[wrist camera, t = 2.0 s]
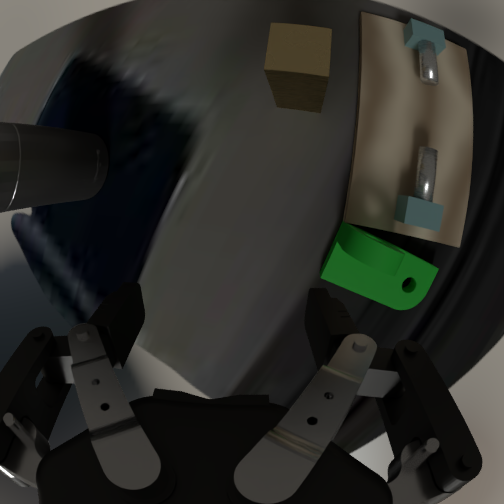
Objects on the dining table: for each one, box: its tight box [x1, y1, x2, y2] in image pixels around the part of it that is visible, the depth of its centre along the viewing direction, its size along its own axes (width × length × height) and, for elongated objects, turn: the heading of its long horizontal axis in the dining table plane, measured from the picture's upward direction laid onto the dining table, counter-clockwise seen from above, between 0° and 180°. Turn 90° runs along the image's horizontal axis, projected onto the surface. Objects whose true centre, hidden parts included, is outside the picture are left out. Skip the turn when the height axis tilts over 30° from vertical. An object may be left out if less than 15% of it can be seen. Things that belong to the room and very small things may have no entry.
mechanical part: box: [320, 221, 438, 310], centre depth 24 cm, size 12×6×8 cm, turn 69°
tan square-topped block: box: [264, 23, 332, 113], centre depth 20 cm, size 4×4×10 cm
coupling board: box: [343, 12, 473, 247], centre depth 21 cm, size 14×25×4 cm, turn 172°
